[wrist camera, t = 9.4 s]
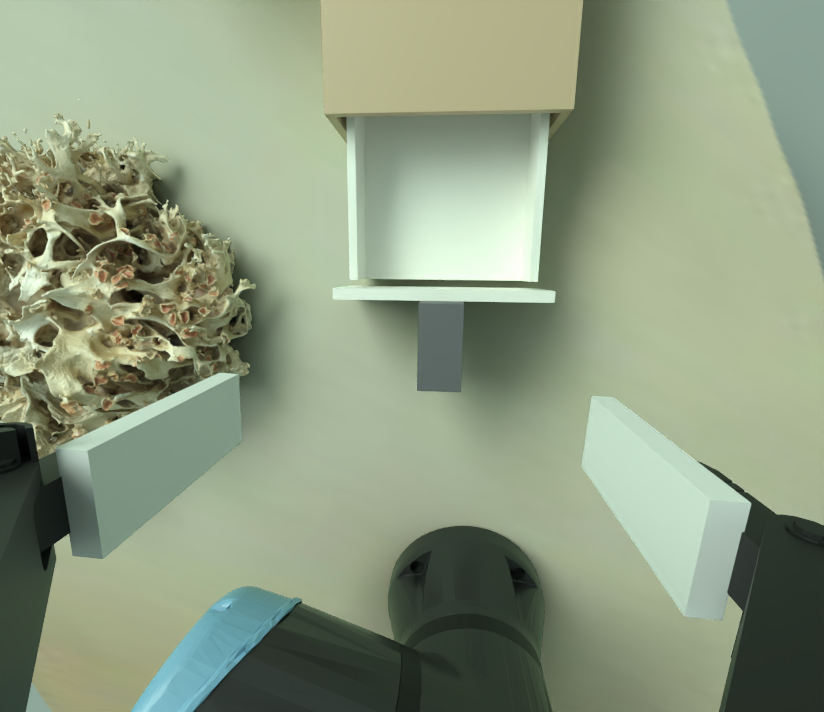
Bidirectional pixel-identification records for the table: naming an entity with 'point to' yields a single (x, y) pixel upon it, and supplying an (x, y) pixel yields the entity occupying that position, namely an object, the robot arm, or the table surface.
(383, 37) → the sleeve
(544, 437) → the table surface
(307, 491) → the table surface
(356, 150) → the tray
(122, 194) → the dried lichen
